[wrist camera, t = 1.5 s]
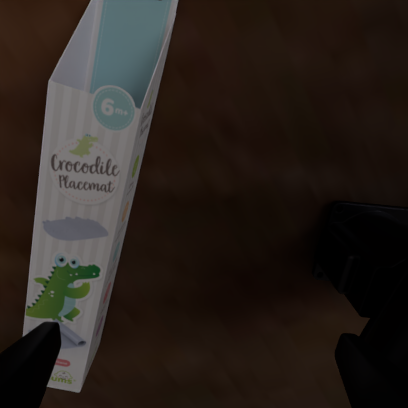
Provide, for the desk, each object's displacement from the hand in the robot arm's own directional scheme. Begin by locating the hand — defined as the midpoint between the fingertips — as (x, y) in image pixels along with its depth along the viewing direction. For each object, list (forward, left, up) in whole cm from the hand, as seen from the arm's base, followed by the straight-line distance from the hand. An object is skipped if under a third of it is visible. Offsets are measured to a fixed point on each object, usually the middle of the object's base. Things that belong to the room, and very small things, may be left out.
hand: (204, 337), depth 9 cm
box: (+7, 0, -12) cm, 14 cm away
